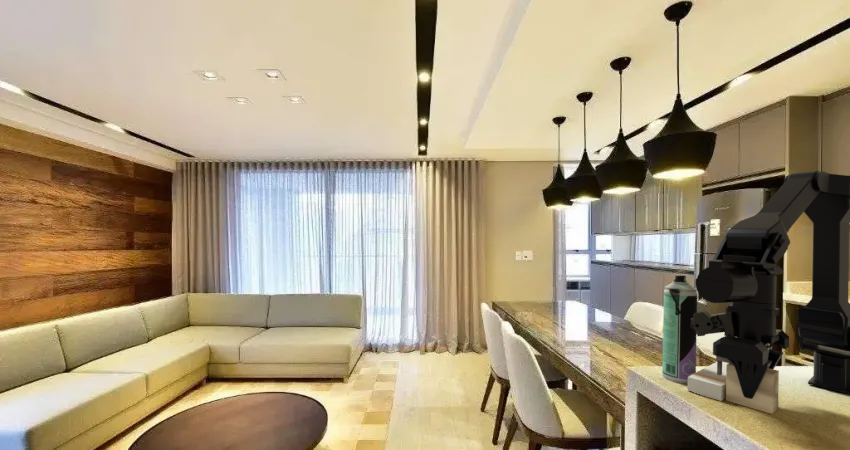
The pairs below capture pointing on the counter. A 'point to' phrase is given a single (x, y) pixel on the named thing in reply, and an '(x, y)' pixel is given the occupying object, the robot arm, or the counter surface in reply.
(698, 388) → the board
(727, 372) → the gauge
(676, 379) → the spray can
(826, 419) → the counter surface
